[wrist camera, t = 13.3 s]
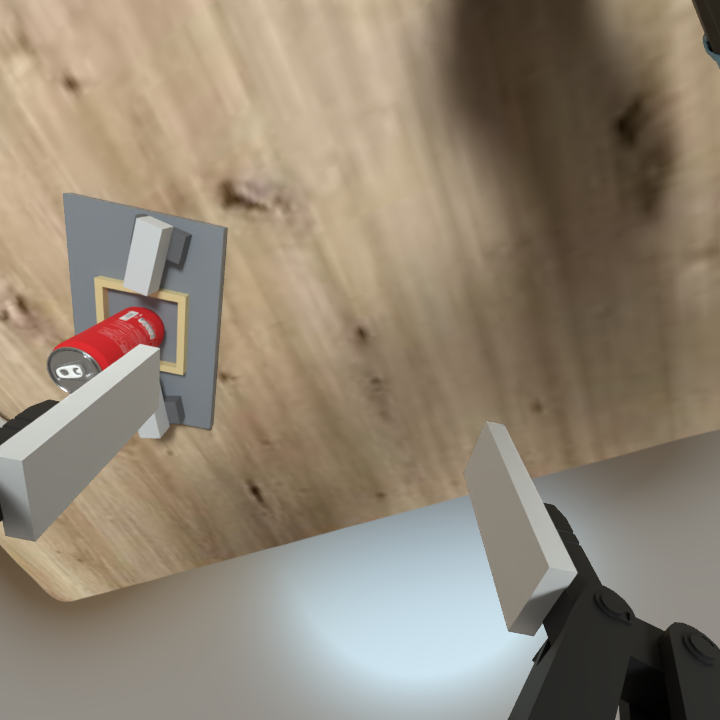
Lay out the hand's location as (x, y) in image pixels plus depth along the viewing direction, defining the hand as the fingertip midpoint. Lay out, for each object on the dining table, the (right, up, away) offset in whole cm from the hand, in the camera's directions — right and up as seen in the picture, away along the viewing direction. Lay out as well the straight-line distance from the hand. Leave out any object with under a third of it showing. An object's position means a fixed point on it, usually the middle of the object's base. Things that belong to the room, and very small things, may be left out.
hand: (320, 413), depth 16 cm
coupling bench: (-23, +6, +31) cm, 39 cm away
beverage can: (-23, +6, +30) cm, 38 cm away
